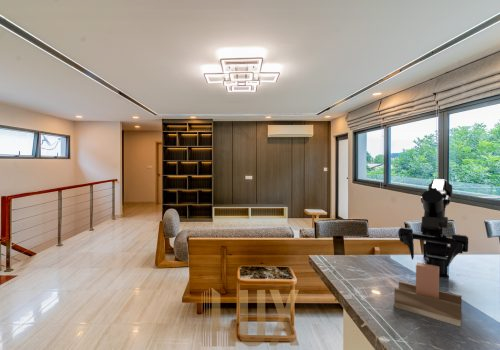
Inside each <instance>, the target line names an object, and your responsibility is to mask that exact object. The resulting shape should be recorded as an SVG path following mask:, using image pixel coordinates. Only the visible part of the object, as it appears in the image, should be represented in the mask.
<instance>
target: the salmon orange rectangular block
mask: <svg viewBox="0 0 500 350" xmlns="http://www.w3.org/2000/svg"><path fill="white" fill-rule="evenodd" d="M415 285H416V293H417V294H421V295H425V296H429V297H433V298H437V299H439V290H440V276H439V266H434V265H428V264H425V263H424V262H423V263H421V262H417V263H416V264H415Z"/></svg>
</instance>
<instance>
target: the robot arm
mask: <svg viewBox="0 0 500 350" xmlns="http://www.w3.org/2000/svg"><path fill="white" fill-rule="evenodd" d="M451 198H453V185H452V184H450V183H448V180H447V179H443V178H434V179H431V183H429V184H428V189H427V190H426V191H424V192H423V193H422V194H421V197H420V201H421V203H422V208H423V210H424V211H423V216H421V224H420V232H421V233H419V232H414V230H413V228H410V227H409V228H408V227H403V226H402V227H400V228H399V229H398V232H397V233H398V239H399V242H401V243H403V244H404V245H405V246H407V249H408V250H409V252H410V257H411V260H414V258H415V250H414V249H415V245H414V240H419V241H423V246H422V247H423V250H422V251H423V256H424V257H426V258H427V259H425V260H424V264H428V265H434V266H439V277H442V278H443V277H444V278H449V277H450V276H449V274H448V267H449V266H450V264H451V263H452V262H453V260H454V259H455V257H456V256H457V255H458V254H464V253H467V252H469V237H468V236H467V235H466V234H465V235H464V234H457V233H456V234H455V233H452V234H451V237H447V235H445V229H448V228H449V227H448V226H449V225H448V224H449V217H447V216H446V207H447V206H449V205H450V203H451ZM424 240H425V241H426V242H424Z"/></svg>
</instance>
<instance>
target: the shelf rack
mask: <svg viewBox="0 0 500 350" xmlns="http://www.w3.org/2000/svg"><path fill="white" fill-rule="evenodd" d="M393 298H394V300H393V307H394V308H397V309H400V310H404V311H406V312H410V313H414V314H416V315H419V316H424V317H426V318H430V319H434V320H437V321H441V322H444V323H448V324H451V325H454V326H457V327H462V304H463V302H462V299H463V298H462V295H460V294H456V293H451V292H447V291H442V290H440V289H439V299H437V298H433V297H429V296H425V295H421V294H417V293H416V283H415V284H414V283H409V282H406V281H401V280H399V281H398V288H396V287H395V288H394V297H393Z"/></svg>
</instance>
